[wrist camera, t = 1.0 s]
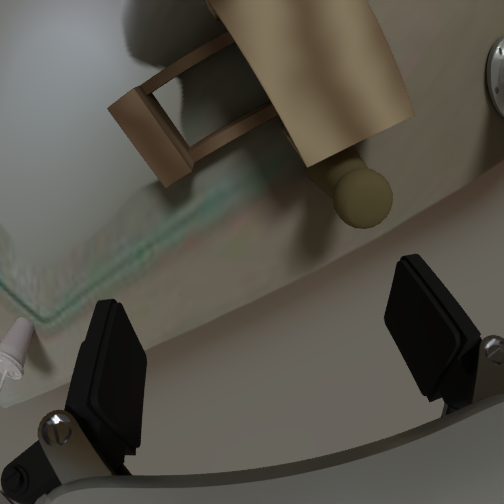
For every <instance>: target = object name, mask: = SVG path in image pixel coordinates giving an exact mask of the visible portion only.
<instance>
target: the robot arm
mask: <svg viewBox="0 0 504 504" xmlns="http://www.w3.org/2000/svg"><path fill="white" fill-rule="evenodd" d="M487 85H488V90H489V94H490V97H491V100H492V102H493V104H494V107H495V108H496V110H497V111H498V113H499V114H500V115H501V116H502V117H503V118H504V37H501V38H500V39H498V40H497V41H496V42H495V44H494V45H493V47H492V49H491V51H490V54H489V57H488V62H487ZM384 321H385V324H386V326H387V328H388V330H389V332H390V334H391V335H392V337H393V339H394V341H395V343H396V345H397V346H398V348H399V350H400V352H401V354H402V356H403V358H404V360H405V362H406V364H407V366H408V368H409V370H410V371H411V373H412V375H413V377H414V379H415V381H416V383H417V385H418V387H419V389H420V391H421V393H422V395H424V396H427V398H428V400H429V402H432V401H434V400H437V399H439V398H441V397H442V398H443V400H444V402H445V403H444V407H443V411H442V415H441V418H438V419H436V420H433V421H431V422H428V423H426V424H423V425H421V426H418V427H416V428H413V429H410V430H408V431H405V432H402V433H399V434H397V435H394V436H391V437H388V438H385V439H382V440H379V441H375V442H372V443H369V444H366V445H363V446H359V447H355V448H352V449H348V450H345V451H341V452H337V453H333V454H329V455H325V456H321V457H316V458H312V459H307V460H302V461H297V462H292V463H287V464H281V465H276V466H269V467H263V468H256V469H248V470H241V471H231V472H221V473H208V474H192V475H191V474H190V475H161V476H139V475H138V476H137V475H132V474H131V473H130V472H129V470H128V469H127V468H126V467H125V466H124V464H123V463H124V457H125V455H136V448H138V447H140V443H141V427H142V411H143V399H144V387H145V377H146V367H147V358H146V354H145V352H144V350H143V348H142V346H141V344H140V342H139V340H138V337H137V335H136V333H135V331H134V329H133V327H132V325H131V323H130V321H129V319H128V316H127V314H126V312H125V310H124V308H123V305H122V304H121V303H117V301H116V300H115V299H107V300H99V301H98V302H97V304H96V306H95V310H94V313H93V316H92V319H91V322H90V325H89V329H88V332H87V335H86V339H85V341H83V342H82V344H81V346H80V350H79V353H78V357H77V360H76V364H75V368H74V371H73V375H72V379H71V383H70V387H69V392H68V396H67V400H66V405H65V409H64V410H54V411H52V412H50V413H48V414H47V415H46V416H44V417H43V419H42V420H41V422H40V424H39V427H38V438H39V440H38V441H37V442H35V443H34V444H33V445H32V446H31V447H29V448H28V449H27V450H25V452H23V453H22V454H20V455H19V456H18V457H17V458H15V459H14V460H13V461H12V462H11V463H9V464H8V465H7V466H6V467H5V468H4V470H3V473H2V476H1V486H2V490H1V491H0V504H504V338H502V337H500V336H496V335H490V336H487V337H485V338H484V339H483V340H482V339H481V337H480V335H481V333H480V332H479V331H478V329H477V328H476V326H475V325H474V324H473V322H472V321H471V319H470V318H469V317H468V316H467V314H466V313H465V311H464V310H463V309H462V307H461V306H460V305H459V303H458V302H457V301H456V300H455V298H454V297H453V296H452V294H451V293H450V292H449V291H448V289H447V288H446V287H445V286H444V284H443V283H442V282H441V281H440V279H439V278H438V277H437V276H436V274H435V273H434V272H433V271H432V270H431V268H430V267H429V266H428V265H427V264H426V262H425V261H424V260H423V259H422V258H421V257H420V255H418V254H412V255H407V256H402V257H401V259H400V261H398V262H397V265H396V269H395V274H394V278H393V283H392V287H391V291H390V295H389V299H388V304H387V307H386V311H385V315H384Z"/></svg>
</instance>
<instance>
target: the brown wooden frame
mask: <svg viewBox="0 0 504 504" xmlns="http://www.w3.org/2000/svg"><path fill="white" fill-rule="evenodd" d="M233 43H235V41H234V40H233V38H232V37H231V35H230V33H229V32H226V33H224V34H222V35H220V36H218V37H217V38H215V39H213V40H211V41H209V42H208V43H206V44H204V45H202V46H201V47H199V48H197V49H196V50H194V51H192V52H191V53H189V54H187V55H186V56H184V57H182V58H181V59H179V60H178V61H176V62H174V63H173V64H171V65H170V66H168V67H167V68H165V69H164V70H162V71H161V72H159V73H158V74H156V75H155V76H153V77H152V78H150V79H149V80H147V81H146V82H145V83H143V84H142V85H140V86H138V87H135V88H133V89H132V90H130V91H129V92H128V93H126V94H125V95H124V96H122V97H121V98H120V99H118V101H116V102H115V103H113V104H112V105H111V106H110V107H108V108H107V109H108V110H109V112H110V113H111V115H112V116H113V117H114V119H115V120H116V121H117V123H118V124H119V126H120V127H121V128H122V130H123V131H124V133H125V134H126V135H127V137H128V138H129V139H130V141H131V142H132V143H133V145H134V146H135V148H136V149H137V150H138V152H139V153H140V154H141V156H142V157H143V158H144V160H145V161H146V162H147V164H148V165H149V166H150V168H151V169H152V170H153V172H154V173H155V175H156V176H157V177H158V179H159V180H160V181H161V183H162V184H163V185H164V187H165V188H166V187H168V186H170V185H171V184H173V183H174V182H176V181H177V180H179V179H181V178H182V177H184V176H186V175H187V174H189V173H190V172H192V170H193V166H194V162H196V161H198V160H199V159H201V158H203V157H204V156H206V155H208V154H209V153H211V152H213V151H215V150H216V149H218V148H220V147H221V146H223V145H225V144H227V143H228V142H230V141H232V140H234V139H235V138H237V137H239V136H241V135H243V134H244V133H246V132H248V131H250V130H252V129H253V128H255V127H257V126H259V125H261V124H263V123H265V122H267V121H268V120H270V119H272V118H274V117H276V116H278V113H277V111H276V110H275V108H274V106H273V104H272V102H271V101H270V102H268V103H266V104H264V105H262V106H260V107H258V108H257V109H255V110H253V111H251V112H249V113H247V114H246V115H244V116H242V117H240V118H238V119H236V120H235V121H233V122H231V123H229V124H228V125H226V126H224V127H222V128H221V129H219V130H217V131H216V132H214V133H212V134H210V135H209V136H207V137H205V138H204V139H202V140H201V141H199V142H197V143H196V144H194V145H192V146H191V147H189V146H188V144H187V143H186V141H185V140H184V138H183V137H182V136H181V134H180V133H179V131H178V130H177V128H176V127H175V126H174V124H173V122H172V121H171V120H170V118H169V117H168V115H167V114H166V112H165V111H164V110H163V108H162V107H161V105H160V104H159V102H158V101H157V99H156V98H155V96H154V95H153V94H152V92H154V91H155V90H157V89H158V88H159V87H161V86H162V85H164V84H165V83H167V82H168V81H170V80H172V79H173V78H175V77H176V76H178V75H179V74H181V73H183V72H184V71H186V70H187V69H189V68H191V67H192V66H194V65H196V64H197V63H199V62H201V61H202V60H204V59H206V58H208V57H209V56H211V55H213V54H215V53H216V52H218V51H220V50H222V49H224V48H225V47H227V46H229V45H231V44H233Z"/></svg>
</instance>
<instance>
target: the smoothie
mask: <svg viewBox="0 0 504 504" xmlns="http://www.w3.org/2000/svg"><path fill="white" fill-rule="evenodd" d="M33 331H34V327H33V325H32V324H31V322H30V321H28V320H27V319H25V318H22V317H19V318H17V320H16V321H15V322H14V324H13V325H12V327H11V328H10V330H9V331H8V332H7V334H6V335H5V337H4V338H3V340H2V341H1V343H0V373H2V374H3V376H2V379H1V381H0V391H1V388H2V386H3V383H4V380H5V378H6V376H7V377H9V378H11V379H16V380H19V379H21V378H22V376H23V374H24V370H23V368H24V364H25V360H26V356H27V352H28V348H29V345H30V341H31V338H32V334H33Z"/></svg>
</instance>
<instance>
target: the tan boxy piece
mask: <svg viewBox="0 0 504 504" xmlns="http://www.w3.org/2000/svg"><path fill="white" fill-rule="evenodd" d="M205 2H206V5H207V8H208V9H209V11H210V12H211V14H212V15H213V17H214V18H215V20H217V19H218V18H220V20H221V21H222V23H223V24H224V26H225V27H226V29H227V30H228V32H229V33H230V35H231V37H232V38H233V40H234V41H235V43H236V44H237V46H238V48H239V49H240V51H241V52H242V54H243V56H244V57H245V59H246V60H247V62H248V64H249V65H250V67H251V69H252V70H253V72H254V73H255V75H256V77H257V78H258V80H259V82H260V84H261V85H262V87H263V89H264V90H265V92H266V94H267V96H268V97H269V99H270V101H271V102H272V104H273V106H274V108H275V110H276V111H277V113H278V115H279V117H280V118H281V120H282V122H283V124H284V127H282V130H283V132H284V133H285V135H286V137H287V139H288V141H289V142H290V143H291V145H292V146H293V148H294V149H295V150H296V152H297V153H298V155H299V156H300V158H301V159H302V160H303V162H304V163H305V165H306V166H307V168H308V167H310V166H312V165H314V164H316V163H318V162H320V161H322V160H324V159H326V158H328V157H329V156H332V155H334V154H336V153H338V152H340V151H342V150H344V149H346V148H348V147H350V146H352V145H354V144H356V143H358V142H360V141H362V140H364V139H366V138H368V137H370V136H372V135H375V134H377V133H379V132H381V131H383V130H385V129H387V128H389V127H392V126H394V125H396V124H398V123H400V122H402V121H405V120H407V119H409V118H411V117H413V116H415V113H414V110H413V107H412V104H411V101H410V98H409V95H408V92H407V90H406V87H405V84H404V81H403V79H402V76H401V74H400V71H399V69H398V66H397V64H396V61H395V59H394V56H393V54H392V52H391V49H390V47H389V45H388V42H387V40H386V38H385V36H384V34H383V32H382V29H381V27H380V25H379V23H378V21H377V19H376V17H375V15H374V13H373V11H372V9H371V7H370V5H369V3H368V1H367V0H205Z"/></svg>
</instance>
